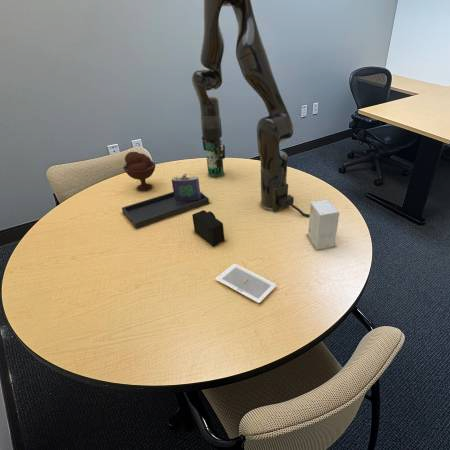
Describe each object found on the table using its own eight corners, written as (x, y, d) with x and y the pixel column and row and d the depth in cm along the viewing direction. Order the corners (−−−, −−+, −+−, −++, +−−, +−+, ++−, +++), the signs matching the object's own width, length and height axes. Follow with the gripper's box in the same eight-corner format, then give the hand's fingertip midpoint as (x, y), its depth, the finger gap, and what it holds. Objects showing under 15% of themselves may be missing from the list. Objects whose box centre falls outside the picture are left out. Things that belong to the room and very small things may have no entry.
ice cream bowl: (150, 196, 125) (141, 159, 117) (123, 192, 127) (112, 155, 118) (165, 183, 134) (158, 148, 125) (139, 179, 135) (131, 144, 127)
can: (205, 175, 141) (202, 141, 133) (214, 170, 146) (210, 136, 138) (218, 178, 140) (215, 144, 131) (226, 173, 144) (223, 139, 136)
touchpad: (234, 266, 96) (234, 260, 95) (277, 287, 90) (277, 282, 89) (215, 281, 91) (214, 275, 90) (259, 306, 85) (259, 300, 83)
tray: (209, 203, 124) (208, 198, 122) (136, 229, 108) (135, 223, 107) (193, 190, 131) (192, 185, 129) (123, 213, 115) (121, 207, 114)
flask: (201, 197, 126) (197, 171, 119) (201, 201, 123) (197, 175, 117) (175, 199, 123) (170, 173, 117) (174, 203, 121) (169, 176, 115)
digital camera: (228, 239, 106) (226, 221, 102) (213, 246, 103) (211, 228, 99) (209, 225, 112) (206, 208, 108) (194, 232, 109) (192, 214, 105)
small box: (335, 246, 106) (340, 212, 99) (316, 250, 104) (320, 215, 97) (324, 232, 113) (328, 198, 105) (307, 235, 111) (310, 201, 103)
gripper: (229, 128, 129) (232, 168, 138) (210, 118, 137) (214, 156, 147) (212, 132, 124) (216, 172, 134) (193, 121, 133) (198, 160, 142)
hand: (215, 164), depth 140 cm, fingers closed on can, 6 cm apart
